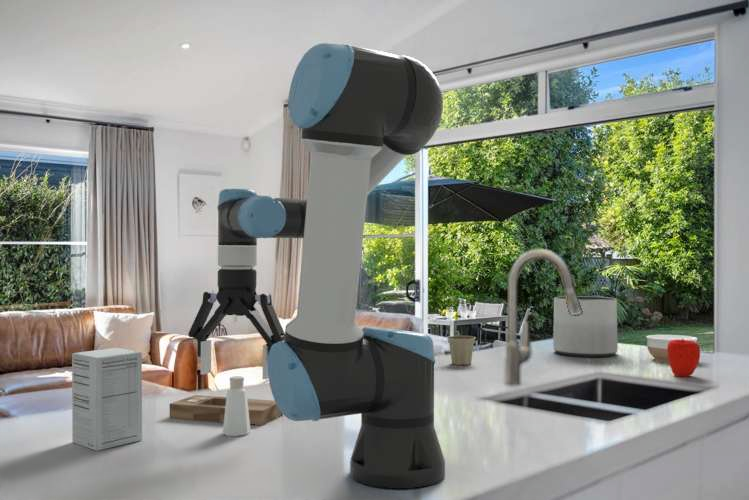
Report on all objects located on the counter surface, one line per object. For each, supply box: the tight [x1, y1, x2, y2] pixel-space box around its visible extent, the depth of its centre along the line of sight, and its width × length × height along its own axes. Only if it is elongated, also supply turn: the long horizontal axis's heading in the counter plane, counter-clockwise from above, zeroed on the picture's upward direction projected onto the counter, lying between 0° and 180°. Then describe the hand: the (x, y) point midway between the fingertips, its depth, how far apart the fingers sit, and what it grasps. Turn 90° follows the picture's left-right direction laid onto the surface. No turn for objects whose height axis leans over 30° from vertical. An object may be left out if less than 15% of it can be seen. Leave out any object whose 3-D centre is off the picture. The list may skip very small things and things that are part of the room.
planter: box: [552, 295, 618, 358], centre depth 249 cm, size 22×22×20 cm
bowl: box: [645, 334, 698, 363], centre depth 233 cm, size 16×16×8 cm
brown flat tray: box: [169, 394, 284, 426], centre depth 150 cm, size 10×22×3 cm, turn 72°
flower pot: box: [446, 335, 477, 366], centre depth 224 cm, size 9×9×9 cm
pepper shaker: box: [222, 375, 252, 437], centre depth 136 cm, size 5×5×11 cm
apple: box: [667, 339, 701, 378], centre depth 203 cm, size 9×9×11 cm
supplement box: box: [71, 347, 143, 452], centre depth 130 cm, size 10×9×17 cm
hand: (236, 375), depth 136 cm, fingers open, 13 cm apart
